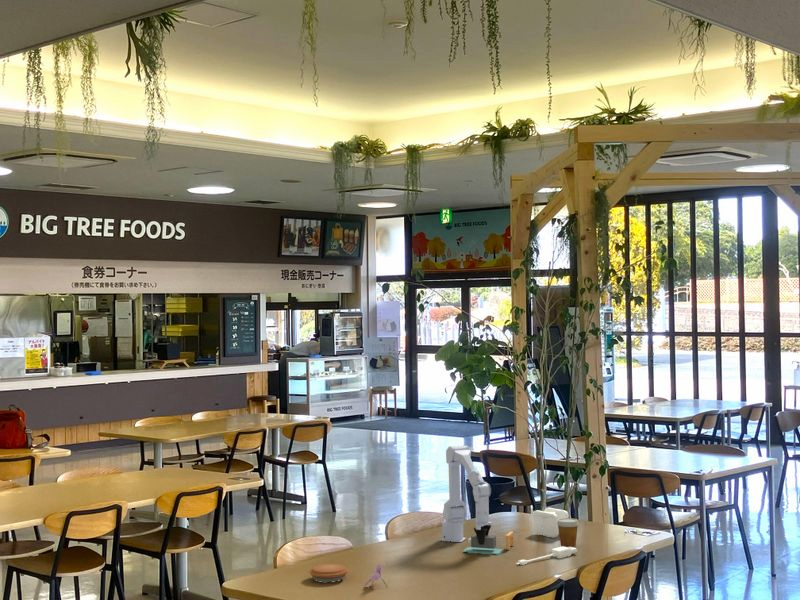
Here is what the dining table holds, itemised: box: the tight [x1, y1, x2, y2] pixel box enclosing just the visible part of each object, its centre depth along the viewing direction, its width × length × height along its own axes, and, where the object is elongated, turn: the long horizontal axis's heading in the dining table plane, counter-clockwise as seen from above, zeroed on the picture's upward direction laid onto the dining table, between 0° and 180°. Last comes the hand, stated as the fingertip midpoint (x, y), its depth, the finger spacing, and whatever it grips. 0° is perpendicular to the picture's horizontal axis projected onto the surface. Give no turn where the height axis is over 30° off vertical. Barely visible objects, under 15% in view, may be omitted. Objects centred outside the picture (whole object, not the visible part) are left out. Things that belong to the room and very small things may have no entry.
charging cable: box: [515, 546, 578, 566], centre depth 401 cm, size 5×32×3 cm, turn 125°
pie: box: [308, 563, 349, 582], centre depth 375 cm, size 15×16×5 cm
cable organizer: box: [531, 507, 570, 539], centre depth 447 cm, size 15×11×12 cm
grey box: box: [467, 534, 497, 549], centre depth 417 cm, size 12×5×5 cm, turn 70°
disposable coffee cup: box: [557, 518, 580, 548], centre depth 422 cm, size 10×10×12 cm
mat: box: [462, 546, 504, 556], centre depth 416 cm, size 16×8×1 cm, turn 70°
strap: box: [505, 531, 515, 550], centre depth 423 cm, size 2×9×6 cm, turn 160°
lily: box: [363, 561, 388, 588], centre depth 363 cm, size 12×12×10 cm
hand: (482, 543), depth 416 cm, fingers closed on grey box, 4 cm apart
